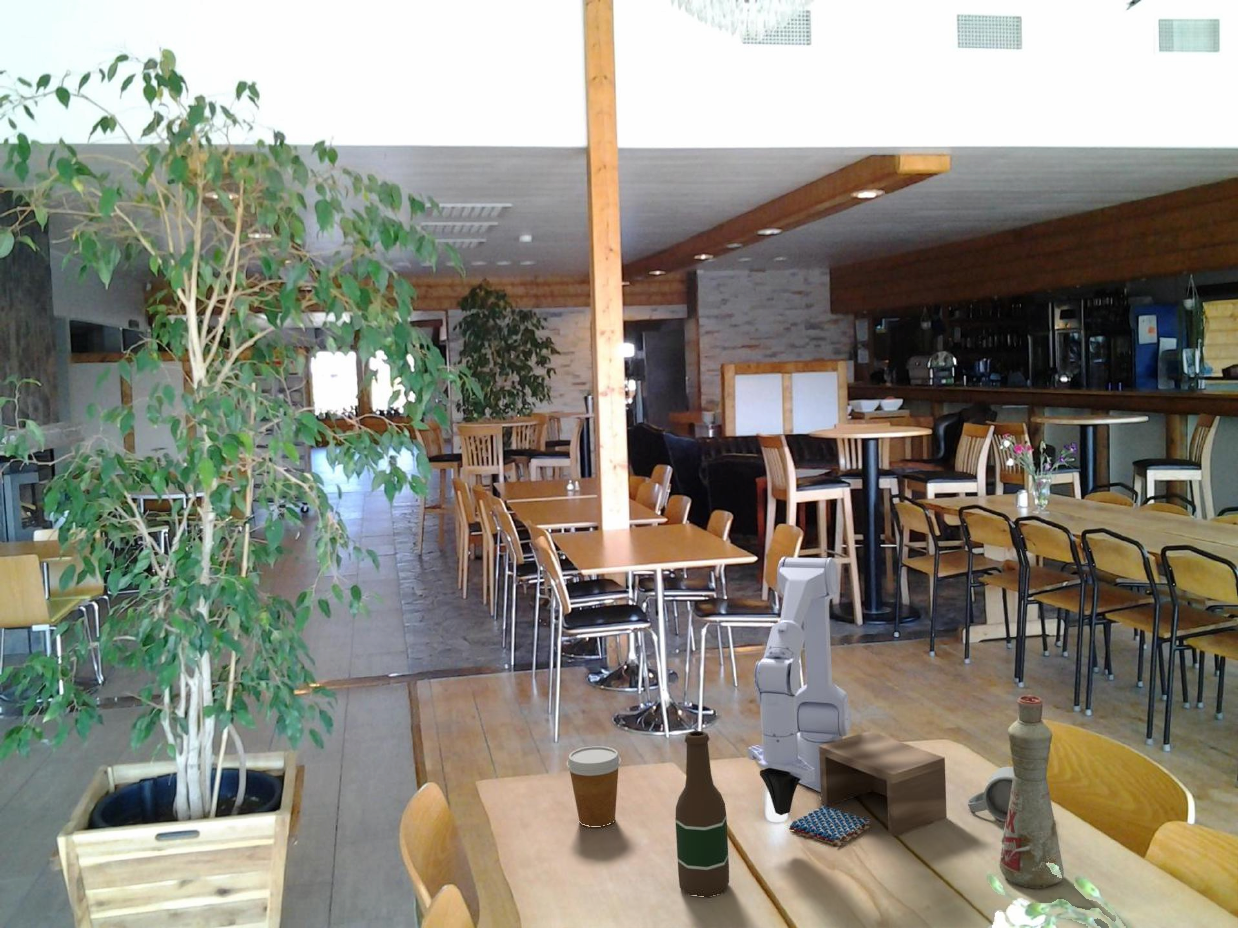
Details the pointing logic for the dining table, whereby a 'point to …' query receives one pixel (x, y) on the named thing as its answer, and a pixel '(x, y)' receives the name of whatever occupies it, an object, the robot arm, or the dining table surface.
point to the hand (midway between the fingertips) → (782, 812)
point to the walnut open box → (885, 778)
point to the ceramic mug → (995, 794)
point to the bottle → (1030, 803)
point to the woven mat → (830, 825)
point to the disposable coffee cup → (595, 783)
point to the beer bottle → (701, 825)
